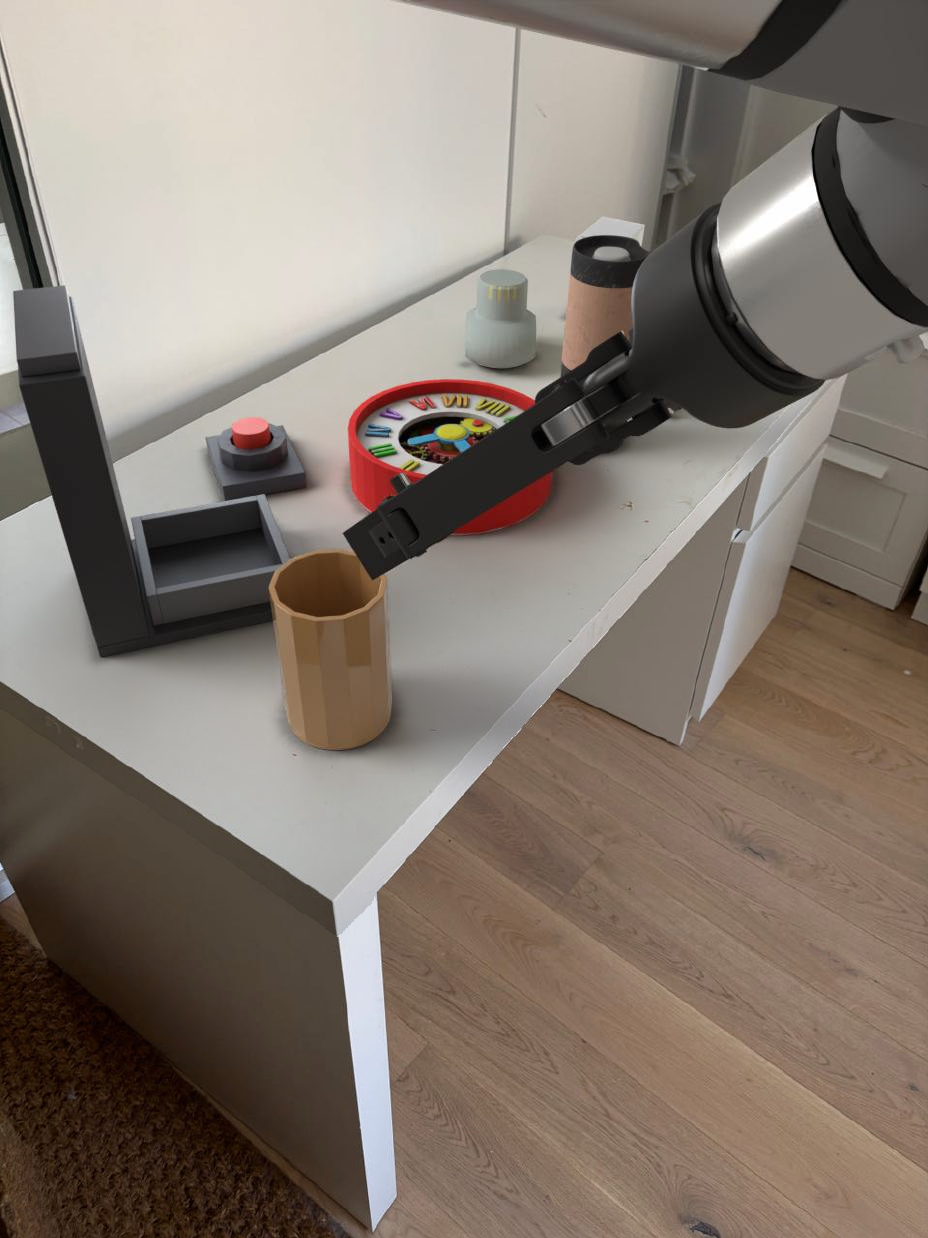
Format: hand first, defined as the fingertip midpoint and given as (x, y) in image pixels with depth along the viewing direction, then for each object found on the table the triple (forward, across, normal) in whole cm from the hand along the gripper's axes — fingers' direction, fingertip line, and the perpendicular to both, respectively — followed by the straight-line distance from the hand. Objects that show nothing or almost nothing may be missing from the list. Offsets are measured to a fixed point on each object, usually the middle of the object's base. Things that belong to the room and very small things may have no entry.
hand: (454, 497), depth 51 cm
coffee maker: (+38, +2, +6) cm, 39 cm away
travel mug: (+31, +46, -2) cm, 56 cm away
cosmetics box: (+45, +76, +12) cm, 89 cm away
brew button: (+44, +18, +16) cm, 50 cm away
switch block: (+46, +18, +13) cm, 51 cm away
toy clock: (+35, +30, +2) cm, 46 cm away
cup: (+24, 0, -9) cm, 26 cm away
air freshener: (+45, +55, +12) cm, 72 cm away
